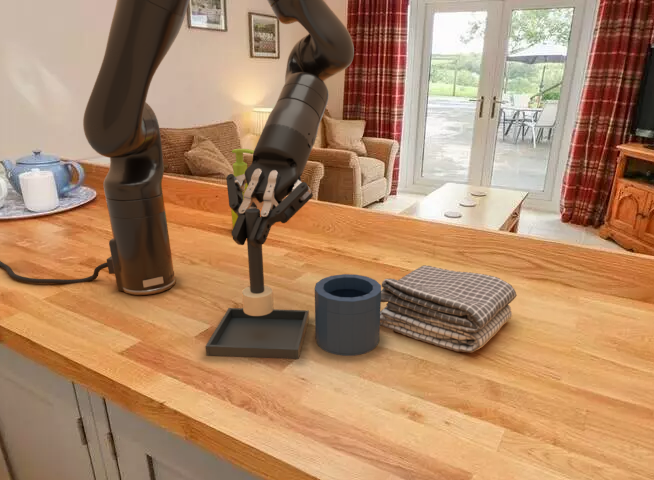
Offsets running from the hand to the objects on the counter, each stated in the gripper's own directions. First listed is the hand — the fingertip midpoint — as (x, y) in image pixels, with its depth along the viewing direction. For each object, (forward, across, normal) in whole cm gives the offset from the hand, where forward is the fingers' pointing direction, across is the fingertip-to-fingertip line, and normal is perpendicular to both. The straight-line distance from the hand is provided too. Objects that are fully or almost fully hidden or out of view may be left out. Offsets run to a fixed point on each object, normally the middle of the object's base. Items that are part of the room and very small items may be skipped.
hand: (246, 243), depth 66 cm
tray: (+10, 0, +13) cm, 16 cm away
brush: (+6, 0, +9) cm, 11 cm away
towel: (-2, +24, +24) cm, 34 cm away
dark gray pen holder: (+7, +12, +16) cm, 21 cm away
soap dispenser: (-22, -32, +45) cm, 59 cm away
